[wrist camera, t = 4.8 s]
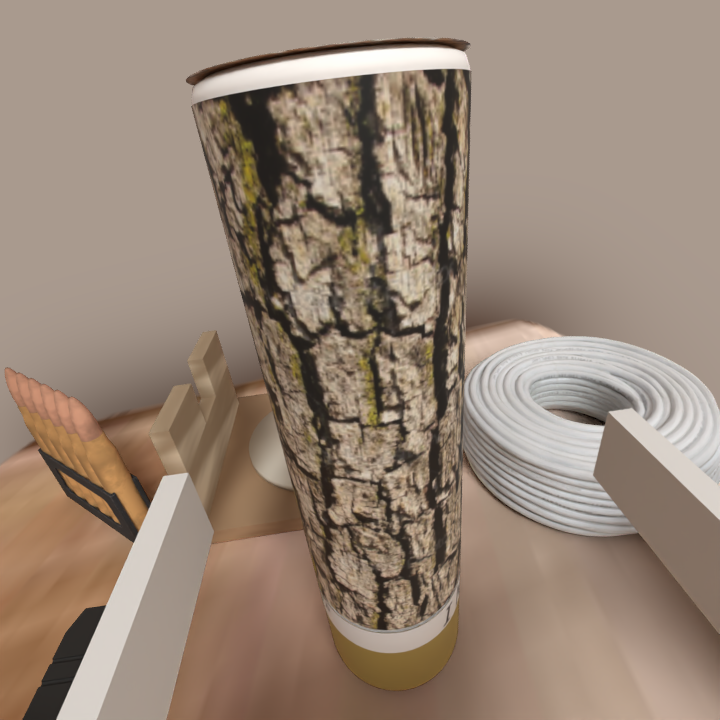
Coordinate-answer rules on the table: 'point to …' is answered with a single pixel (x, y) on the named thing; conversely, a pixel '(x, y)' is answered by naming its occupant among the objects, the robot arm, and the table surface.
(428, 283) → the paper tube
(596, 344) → the cable
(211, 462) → the base
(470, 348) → the table surface
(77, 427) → the ammunition clip
